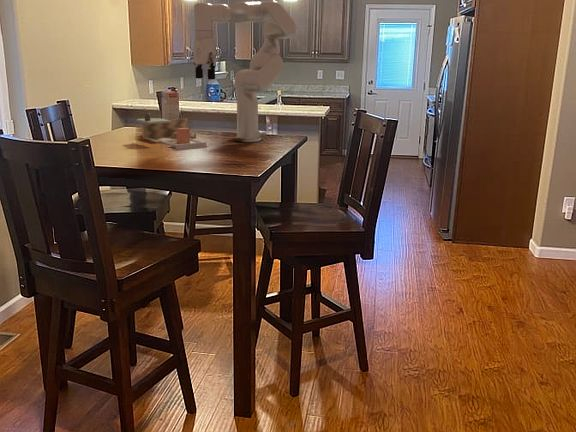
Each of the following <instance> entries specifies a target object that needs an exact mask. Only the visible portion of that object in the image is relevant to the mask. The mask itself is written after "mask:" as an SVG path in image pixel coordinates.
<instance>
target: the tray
mask: <svg viewBox="0 0 576 432" xmlns="http://www.w3.org/2000/svg"><path fill="white" fill-rule="evenodd" d="M191 141H192V143H191ZM173 142H174V143H173ZM175 142H177V139H176V140H164V141H160V143H162V144H166V145H169V146H166V148H167V149H172V150H176V151H181V150H182V149H183V150H191V149H200V148H201V149H202V148H207V141H203V140H199V139H196V138H195V139H190V143H187V144H180V143H175ZM183 150H182V151H183Z"/></svg>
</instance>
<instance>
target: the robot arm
mask: <svg viewBox="0 0 576 432" xmlns="http://www.w3.org/2000/svg"><path fill="white" fill-rule="evenodd" d="M193 19H194V22H193V23H194V24H193V25H194V41H193V57H192V59H193V65H194V69H195V72H194V73H195V79H204V73H203V72H204V69H203V65H206V66H207V80H215V79H216V68H217V67H216V66H217V61H218V58H217V56H216V52H215V44H214V43H215V42H214V24H226V23H227V24H228V23H231V24H232V23H233V24H248V23H262V22H263V23H264V24H263V28H262V32H263V44H262V45H261V47H260V48H259V49H258V51H257V52H256V53H255V54H254V56H253V57H252V59H251V60H250V62H249V69H248V68H247V69H246V68H245V69H241V70H239V71H237V73H236V74H235V75H234V81H233V82H234V87H235V94H236V136H234V138H236V139H240V140H237V142H239V143H257V142H261V141H262V137H261V136H266V135H267V131H265V130H262V131H261V130H259V101H258V100H259V99H258V96H257V94H256V93H265V92H267V91H268V90H270V88H271V87H272V86H273V84H274V83H275V82H276V80H277V79H279V76H280V75H281V73H282V72H283V68H284V61H283V58H282V57H281V55H280V53H281V48H280V44H279V40H280V39H292V38H293V37H294V36H295V35H296V33H297V26H296V25H297V24H296V22H295V20H294V19H293V17H292V16H291V15H290V14H289V13H288V11H287V10H286V9H285V8H284V6H283V5H282V4H281V3H280V2H278V1H276V0H261V1H236V2H232V3H209V2H197V3H196V2H195V4H194V5H193Z"/></svg>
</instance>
